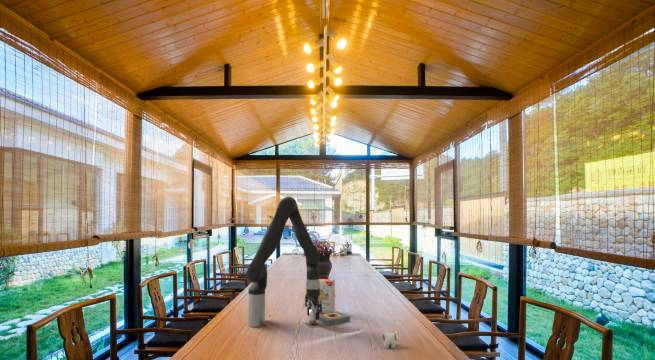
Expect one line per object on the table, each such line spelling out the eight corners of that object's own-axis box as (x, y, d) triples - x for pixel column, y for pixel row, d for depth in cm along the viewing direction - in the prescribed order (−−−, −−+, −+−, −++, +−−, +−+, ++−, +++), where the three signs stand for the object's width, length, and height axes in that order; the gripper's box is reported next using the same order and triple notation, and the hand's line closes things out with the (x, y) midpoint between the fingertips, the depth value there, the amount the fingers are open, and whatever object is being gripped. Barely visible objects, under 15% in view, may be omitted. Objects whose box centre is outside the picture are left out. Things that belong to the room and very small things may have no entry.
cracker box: (310, 315, 225) (310, 280, 226) (313, 312, 230) (313, 278, 232) (332, 317, 220) (332, 281, 222) (335, 314, 226) (334, 279, 228)
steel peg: (307, 324, 203) (307, 309, 203) (314, 322, 205) (314, 308, 205) (311, 326, 199) (311, 310, 200) (318, 324, 202) (318, 309, 202)
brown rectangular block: (302, 325, 204) (302, 323, 204) (313, 323, 208) (313, 321, 208) (312, 331, 196) (312, 328, 196) (323, 328, 200) (323, 325, 200)
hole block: (315, 322, 210) (315, 315, 210) (337, 318, 218) (337, 310, 218) (327, 328, 200) (327, 320, 200) (349, 323, 208) (349, 315, 208)
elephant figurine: (394, 342, 180) (394, 327, 180) (399, 350, 170) (399, 334, 171) (379, 342, 179) (379, 327, 180) (382, 350, 170) (382, 334, 170)
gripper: (300, 285, 207) (300, 315, 206) (313, 290, 195) (314, 322, 194) (312, 284, 211) (312, 313, 210) (325, 288, 199) (326, 319, 198)
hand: (313, 317), depth 202 cm, fingers open, 8 cm apart
